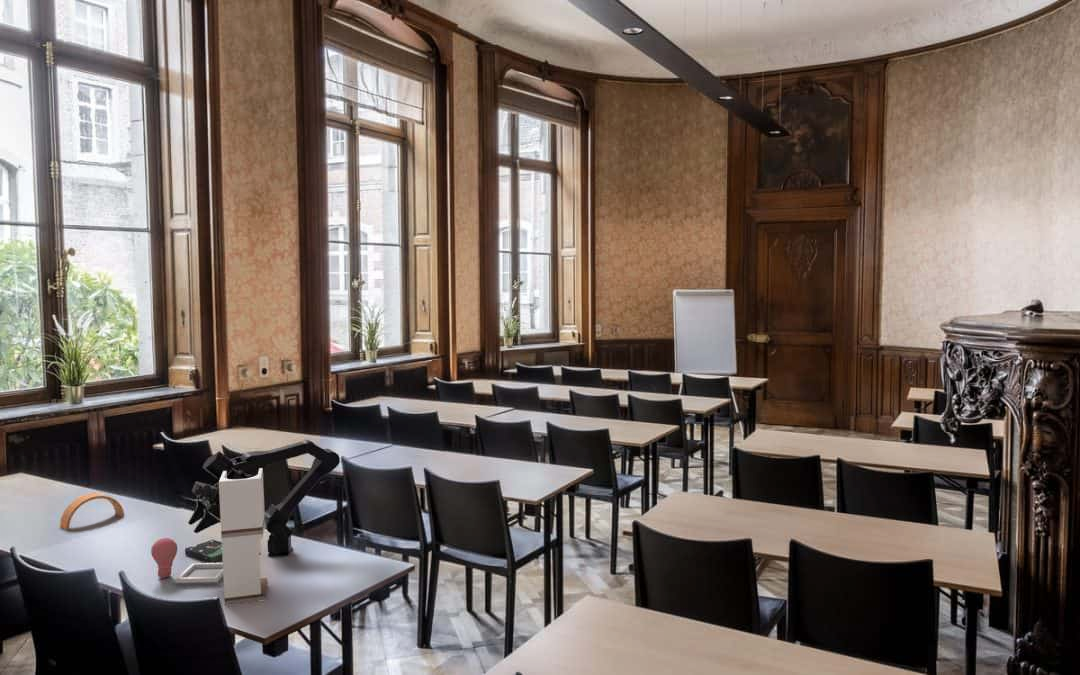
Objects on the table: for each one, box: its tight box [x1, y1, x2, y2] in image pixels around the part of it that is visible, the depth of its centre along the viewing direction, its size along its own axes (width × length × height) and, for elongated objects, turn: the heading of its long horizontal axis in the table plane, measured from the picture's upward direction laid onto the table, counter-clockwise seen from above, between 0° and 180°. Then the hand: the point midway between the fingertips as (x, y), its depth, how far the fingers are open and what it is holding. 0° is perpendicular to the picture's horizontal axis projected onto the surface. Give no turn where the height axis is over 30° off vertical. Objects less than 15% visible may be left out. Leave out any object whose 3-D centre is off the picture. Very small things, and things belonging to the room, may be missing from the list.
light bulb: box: [150, 537, 178, 579], centre depth 233 cm, size 7×7×12 cm
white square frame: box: [175, 562, 224, 587], centre depth 233 cm, size 12×12×2 cm
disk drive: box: [184, 539, 223, 563], centre depth 251 cm, size 10×3×15 cm
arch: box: [59, 492, 125, 531], centre depth 285 cm, size 6×20×10 cm, turn 142°
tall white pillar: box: [218, 468, 269, 606], centre depth 219 cm, size 11×11×35 cm
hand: (192, 528), depth 237 cm, fingers open, 9 cm apart
